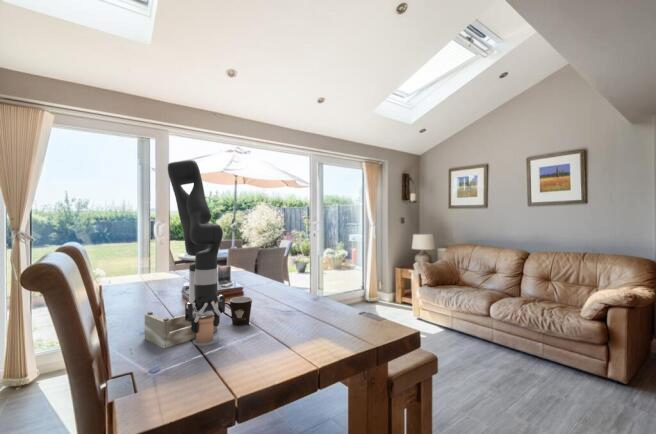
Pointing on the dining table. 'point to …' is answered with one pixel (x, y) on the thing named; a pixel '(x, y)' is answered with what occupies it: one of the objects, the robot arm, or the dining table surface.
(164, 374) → the dining table surface
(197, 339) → the pot
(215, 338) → the saucer
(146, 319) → the wooden box
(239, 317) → the coffee mug
